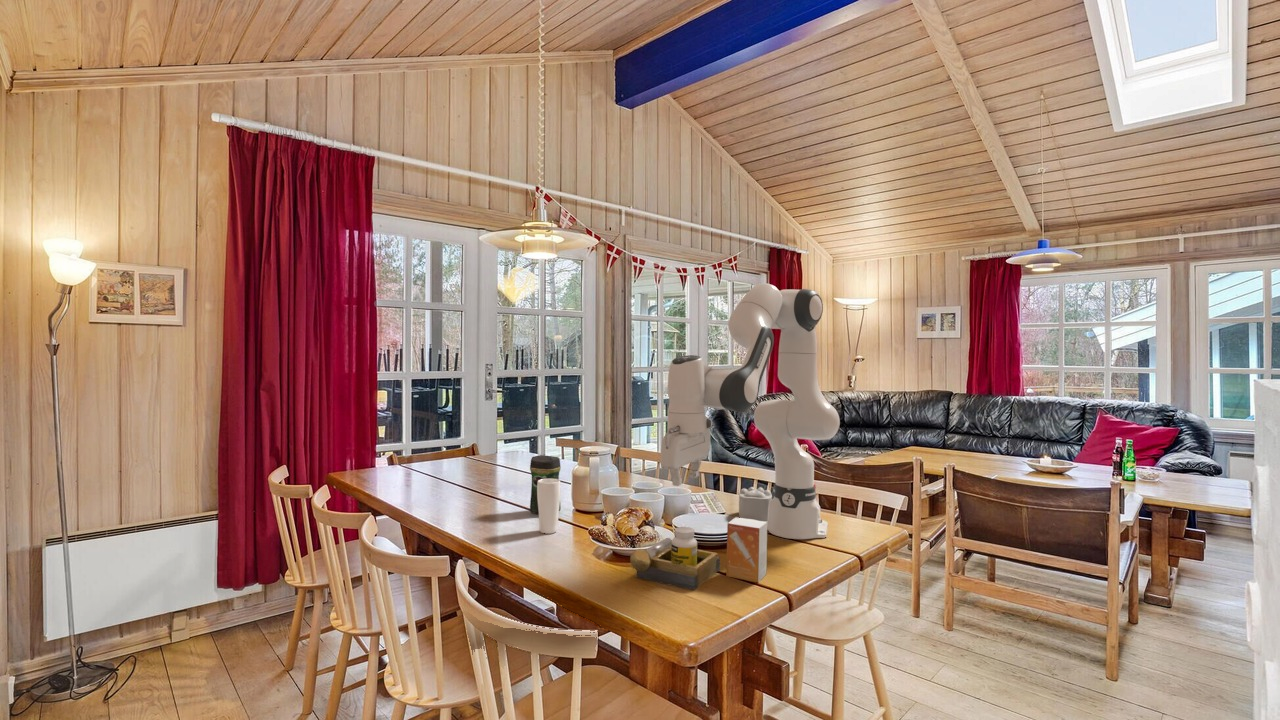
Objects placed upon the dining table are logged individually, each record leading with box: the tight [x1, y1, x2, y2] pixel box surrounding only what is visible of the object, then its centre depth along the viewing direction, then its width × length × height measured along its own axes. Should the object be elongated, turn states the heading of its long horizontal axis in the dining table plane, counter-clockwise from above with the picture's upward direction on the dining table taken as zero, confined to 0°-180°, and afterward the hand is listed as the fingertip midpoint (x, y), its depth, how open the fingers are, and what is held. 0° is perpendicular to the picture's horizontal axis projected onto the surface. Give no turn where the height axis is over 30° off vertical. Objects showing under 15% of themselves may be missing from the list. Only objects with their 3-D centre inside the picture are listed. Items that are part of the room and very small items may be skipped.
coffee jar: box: [529, 454, 562, 515], centre depth 202 cm, size 10×8×19 cm
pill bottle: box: [671, 526, 698, 566], centre depth 148 cm, size 6×6×11 cm
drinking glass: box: [537, 478, 562, 535], centre depth 182 cm, size 7×7×15 cm
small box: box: [725, 516, 768, 583], centre depth 148 cm, size 8×6×13 cm
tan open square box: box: [629, 537, 721, 591], centre depth 149 cm, size 16×16×7 cm
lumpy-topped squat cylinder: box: [738, 486, 773, 522], centre depth 201 cm, size 10×13×9 cm
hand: (685, 481), depth 148 cm, fingers open, 8 cm apart
